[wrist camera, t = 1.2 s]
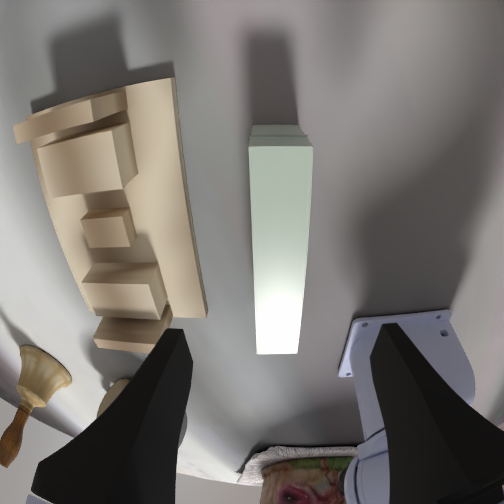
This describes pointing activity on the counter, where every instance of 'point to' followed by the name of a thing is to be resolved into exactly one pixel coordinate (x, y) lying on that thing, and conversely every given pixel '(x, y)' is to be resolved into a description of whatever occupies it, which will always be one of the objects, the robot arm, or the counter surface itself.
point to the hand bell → (32, 395)
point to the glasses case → (279, 232)
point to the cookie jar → (300, 474)
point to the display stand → (121, 208)
